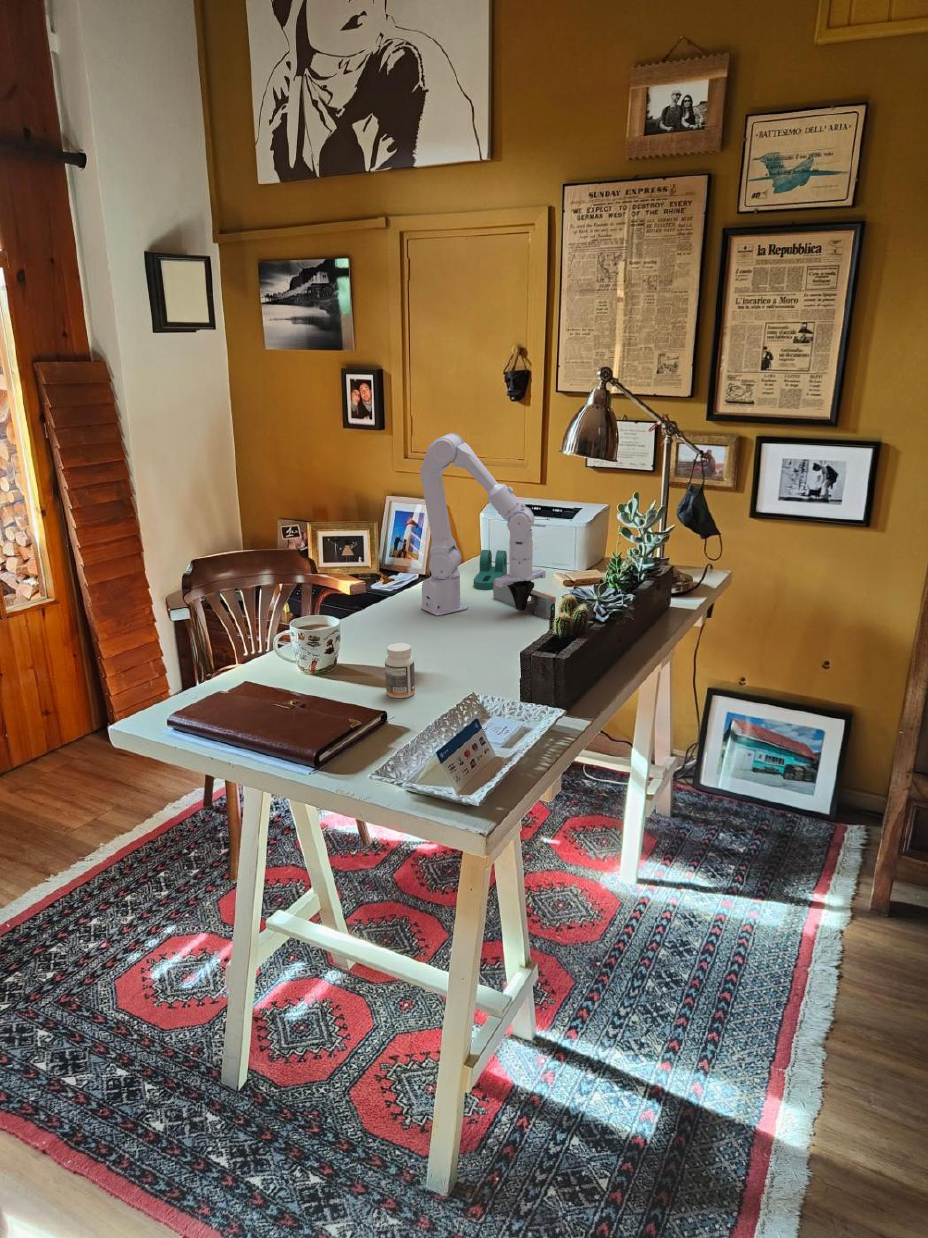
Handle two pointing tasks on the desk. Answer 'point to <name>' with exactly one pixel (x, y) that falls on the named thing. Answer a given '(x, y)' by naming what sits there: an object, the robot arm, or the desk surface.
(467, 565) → the desk surface
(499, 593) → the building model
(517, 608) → the robot arm
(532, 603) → the plug
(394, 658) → the pill bottle
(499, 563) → the bracket
